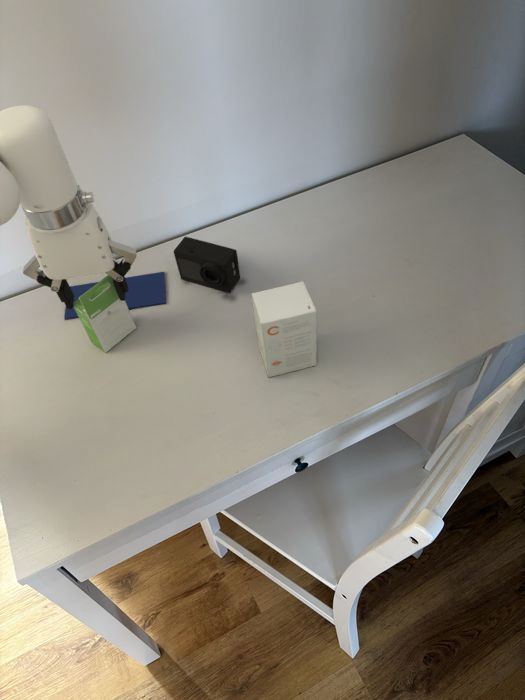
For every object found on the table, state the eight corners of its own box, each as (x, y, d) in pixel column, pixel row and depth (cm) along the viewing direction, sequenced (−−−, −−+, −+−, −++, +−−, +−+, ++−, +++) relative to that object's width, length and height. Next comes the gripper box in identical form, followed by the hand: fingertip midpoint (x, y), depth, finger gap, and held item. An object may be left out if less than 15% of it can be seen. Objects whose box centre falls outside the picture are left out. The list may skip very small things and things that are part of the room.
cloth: (64, 320, 94) (64, 318, 94) (68, 288, 99) (67, 286, 99) (166, 303, 95) (165, 302, 95) (164, 272, 100) (164, 271, 100)
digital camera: (176, 283, 98) (168, 255, 92) (191, 264, 101) (184, 235, 95) (227, 298, 95) (221, 269, 89) (240, 278, 97) (236, 249, 92)
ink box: (122, 318, 94) (98, 261, 83) (137, 328, 92) (114, 271, 81) (91, 342, 91) (62, 286, 80) (105, 354, 89) (77, 298, 78)
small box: (305, 336, 88) (304, 279, 78) (317, 366, 84) (317, 310, 74) (257, 348, 87) (250, 292, 77) (267, 378, 83) (261, 324, 73)
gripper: (121, 179, 73) (151, 273, 87) (-8, 199, 72) (44, 290, 86) (120, 213, 68) (152, 307, 82) (-17, 234, 68) (39, 325, 81)
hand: (97, 298), depth 84 cm, fingers closed on ink box, 7 cm apart
